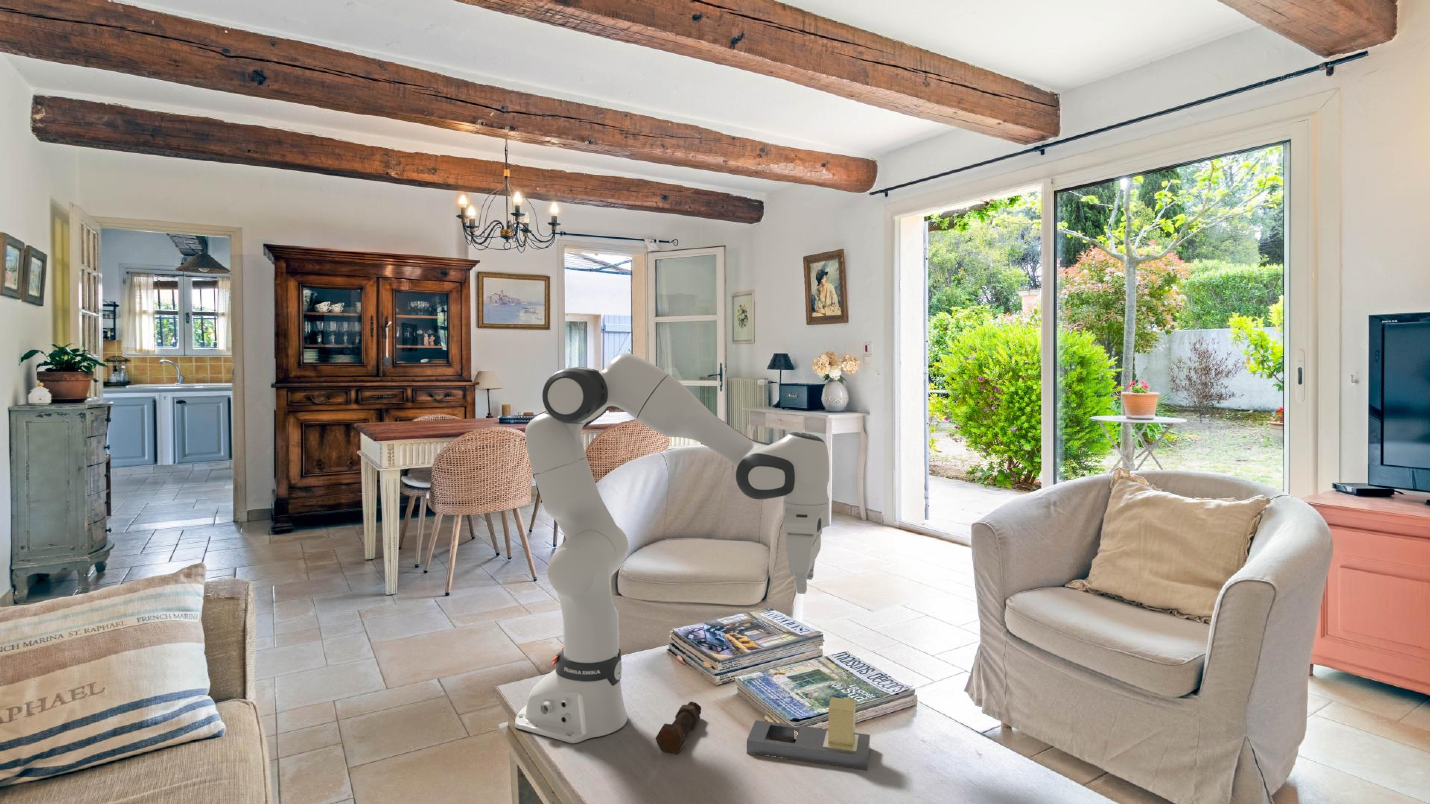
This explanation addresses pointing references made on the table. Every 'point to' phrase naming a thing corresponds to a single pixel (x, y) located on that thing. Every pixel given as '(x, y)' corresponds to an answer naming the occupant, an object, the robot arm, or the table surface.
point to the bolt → (678, 728)
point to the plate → (807, 745)
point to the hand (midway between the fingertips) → (805, 585)
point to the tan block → (841, 722)
